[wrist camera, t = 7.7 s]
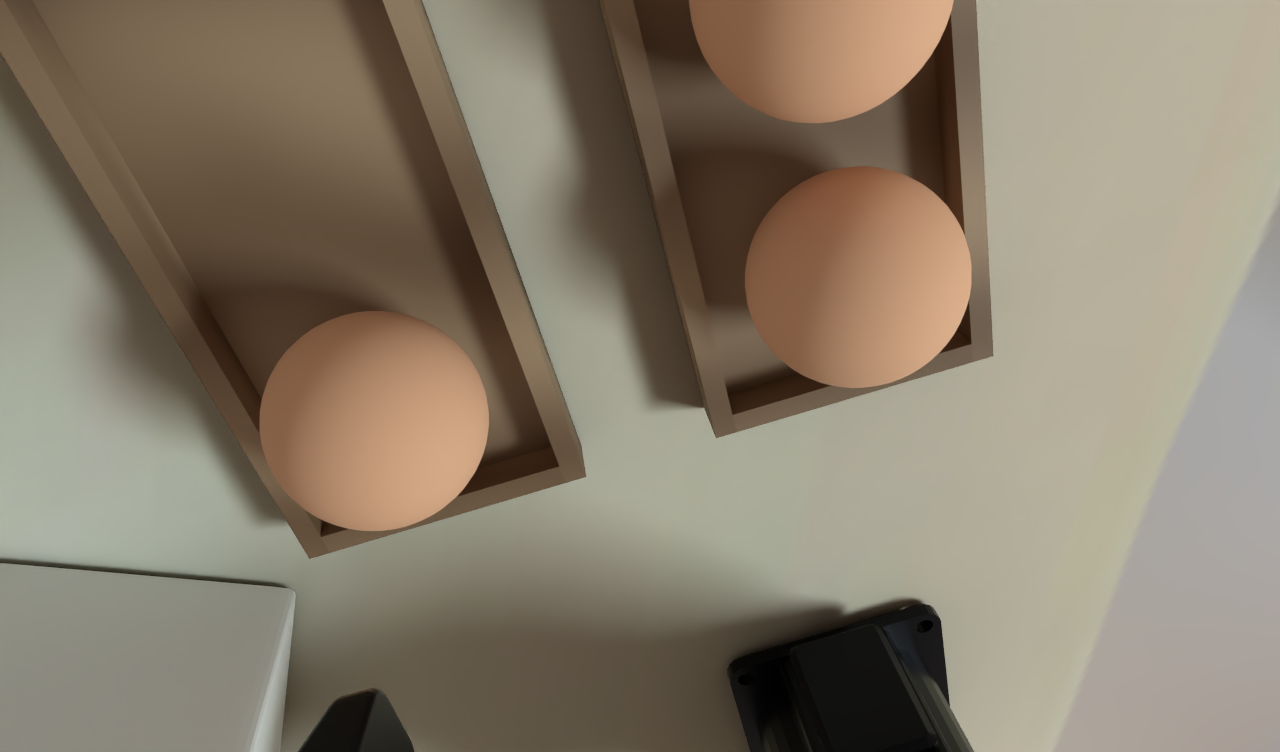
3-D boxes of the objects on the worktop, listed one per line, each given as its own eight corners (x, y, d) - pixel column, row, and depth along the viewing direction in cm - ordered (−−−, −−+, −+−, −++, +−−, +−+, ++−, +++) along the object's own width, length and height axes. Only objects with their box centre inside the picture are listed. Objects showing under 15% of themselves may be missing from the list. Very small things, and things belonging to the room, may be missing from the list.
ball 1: (515, 418, 21) (520, 540, 17) (336, 471, 21) (301, 604, 17) (448, 250, 18) (437, 347, 15) (247, 310, 18) (184, 423, 15)
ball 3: (922, 297, 21) (1018, 392, 17) (743, 350, 21) (799, 456, 17) (905, 115, 18) (1012, 176, 15) (704, 174, 18) (759, 252, 15)
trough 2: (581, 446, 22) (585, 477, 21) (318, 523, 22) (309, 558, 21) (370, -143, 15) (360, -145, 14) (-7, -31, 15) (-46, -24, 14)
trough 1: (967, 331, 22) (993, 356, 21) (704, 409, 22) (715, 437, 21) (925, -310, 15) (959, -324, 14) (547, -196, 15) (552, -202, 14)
